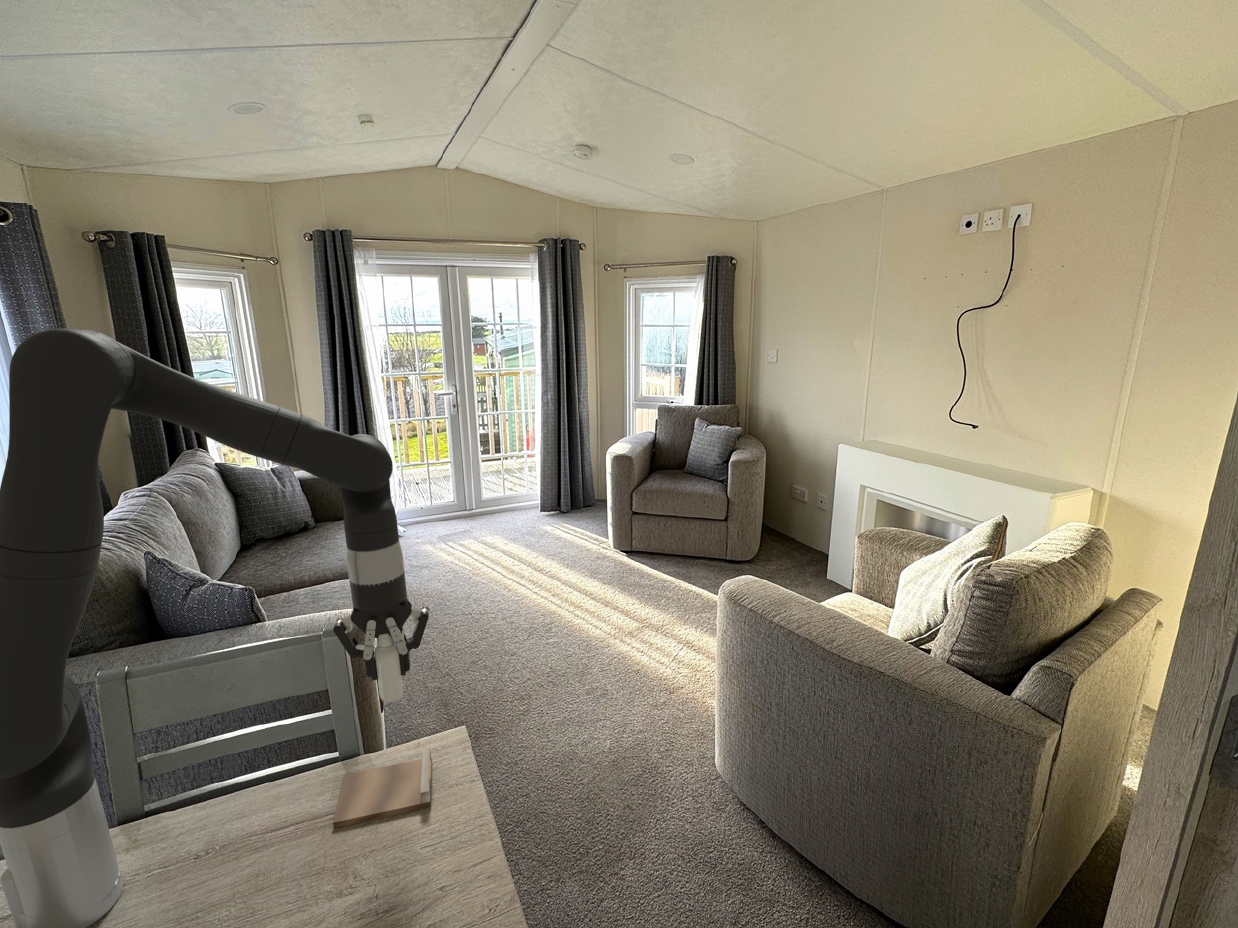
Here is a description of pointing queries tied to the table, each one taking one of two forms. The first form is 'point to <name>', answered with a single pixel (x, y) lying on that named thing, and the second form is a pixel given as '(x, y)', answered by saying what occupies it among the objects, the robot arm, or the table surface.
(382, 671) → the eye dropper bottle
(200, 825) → the table surface
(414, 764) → the walnut shelf board
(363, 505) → the robot arm
